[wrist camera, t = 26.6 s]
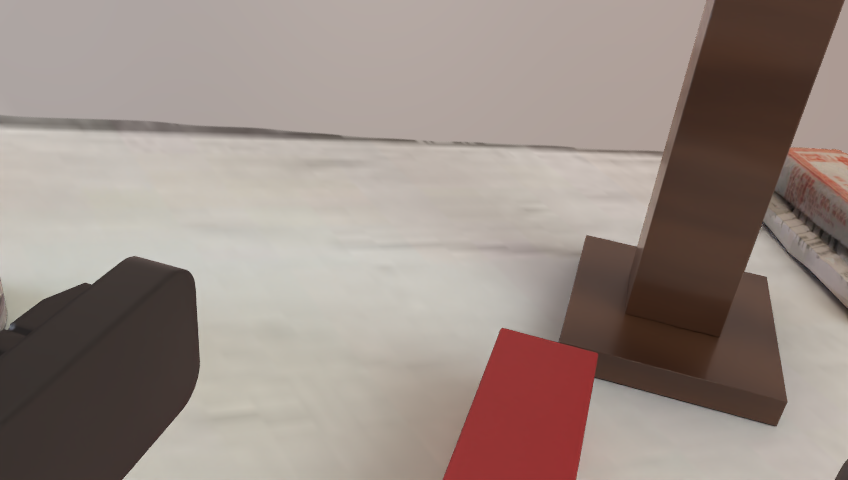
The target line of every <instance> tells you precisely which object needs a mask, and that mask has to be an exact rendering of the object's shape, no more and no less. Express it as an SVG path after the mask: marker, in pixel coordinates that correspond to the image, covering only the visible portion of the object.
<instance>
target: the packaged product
mask: <svg viewBox="0 0 848 480" xmlns="http://www.w3.org/2000/svg"><path fill="white" fill-rule="evenodd" d="M763 222H764V223H765V224H766V225H767V226H768V227H769V229H770V230H771V231H772V232H773V233H774V235H775V236H776V237H777V238H778V240H779V241H780V242H781V243H782V245H783V246H784V247H785V248H786V250H787V251H788V252H789V253H790V254H791V255H792V256H794V257H795V258H796V259H797V260H799V261H800V262H801V263H802V264H804V265H805V266H806V267H807V268H809V269H810V270H811V271H812V272H813V273H814V274H815V275H816V276H817V277H818V279H819V280H820V281H821V282H822V283H823V284H824V285H825V286H826V287H827V288H828V289H829V290H830V291H831V292H832V293H833V294H834V295H835V296H836V297H837V298H838V299H839V300H840V301H841V302H842V303H843V304H844V305H845V306H846V307H847V308H848V154H846V153H843V152H842V151H840V150H836V149H832V150H828V149H815V148H811V149H810V148H791V147H790V149H789V152H788V155H787V158H786V160H785V163H784V166H783V168H782V171H781V174H780V176H779V179H778V182H777V185H776V187H775V190H774V193H773V195H772V198H771V201H770V203H769V206H768V209H767V212H766V214H765V217H764V220H763Z"/></svg>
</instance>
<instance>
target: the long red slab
mask: <svg viewBox="0 0 848 480" xmlns="http://www.w3.org/2000/svg"><path fill="white" fill-rule="evenodd" d="M597 360H598V353H596V352H592V351H588V350H584V349H580V348H577V347H573V346H569V345H565V344H562V343H558V342H554V341H550V340H546V339H543V338H539V337H535V336H531V335H528V334H524V333H520V332H516V331H512V330H509V329H505V328H501V330H500V332H499V335H498V337H497V340H496V343H495V345H494V348H493V350H492V353H491V356H490V358H489V361H488V363H487V366H486V369H485V371H484V374H483V376H482V379H481V382H480V384H479V387H478V389H477V392H476V395H475V397H474V400H473V402H472V405H471V408H470V410H469V413H468V415H467V418H466V421H465V423H464V426H463V428H462V431H461V434H460V436H459V439H458V441H457V444H456V447H455V449H454V452H453V454H452V457H451V460H450V462H449V465H448V467H447V470H446V473H445V475H444V478H443V480H576V477H577V471H578V465H579V460H580V454H581V449H582V443H583V438H584V432H585V426H586V421H587V415H588V410H589V404H590V399H591V393H592V387H593V382H594V376H595V371H596V365H597Z"/></svg>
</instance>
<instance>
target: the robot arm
mask: <svg viewBox="0 0 848 480" xmlns="http://www.w3.org/2000/svg"><path fill="white" fill-rule="evenodd" d="M6 321H7V308H6V303H5V298H4V294H3V289H2V284H1V279H0V480H122V479H123V478H124V477H125V476H126V475H127V474H128V472H129V471H130V470H131V469H132V468H133V467H134V465H135V464H136V463H137V462H138V461H139V460H140V458H141V457H142V456H143V455H144V454H145V453H146V451H147V450H148V449H149V448H150V447H151V446H152V444H153V443H154V442H155V441H156V440H157V439H158V437H159V436H160V435H161V434H162V433H163V432H164V430H165V429H166V428H167V427H168V426H169V425H170V424H171V422H172V421H173V420H174V419H175V418H176V417H177V415H178V414H179V413H180V412H181V411H182V409H183V408H184V407H185V405H186V404H187V402H188V401H189V399H190V397H191V395H192V393H193V390H194V388H195V385H196V382H197V378H198V374H199V367H200V357H199V340H198V323H197V306H196V288H195V281H194V278H193V276H192V274H191V273H190V272H189V271H187V270H184V269H181V268H177V267H173V266H170V265H166V264H162V263H159V262H155V261H151V260H148V259H144V258H140V257H136V256H133V257H129V258H126V259H125V260H123V261H122V262H120V263H119V264H118V265H117V266H115V267H114V268H113V269H111V270H110V271H109V272H108V273H106V274H105V275H104V276H102V277H101V278H100V279H99V280H97V281H96V282H95V283H93V284H92V285H91V284H88V283H83V284H81V285H78V286H76V287H73V288H71V289H68V290H66V291H63V292H61V293H58V294H56V295H53V296H51V297H49V298H46V299H44V300H42V301H41V302H39V303H38V304H37V305H35V306H34V307H33V308H31V309H30V310H29V311H27V312H26V313H24V314H23V315H22V316H20V317H19V318H18V319H16V320H15V321H14V322H12V323H11V324H10V328H9V329H8V330H5V329H4V327H5V324H6ZM835 480H848V459H847V461H846V462H845V463H844V464H843V466H842V468H841V469H840V471H839V473H838V475H837V477H836V479H835Z"/></svg>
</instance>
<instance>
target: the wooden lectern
mask: <svg viewBox="0 0 848 480" xmlns="http://www.w3.org/2000/svg"><path fill="white" fill-rule="evenodd" d="M844 1H845V0H706V4H705V7H704V11H703V14H702V18H701V22H700V25H699V29H698V32H697V36H696V39H695V43H694V46H693V50H692V53H691V57H690V61H689V64H688V68H687V71H686V75H685V79H684V82H683V86H682V89H681V93H680V96H679V100H678V103H677V107H676V110H675V114H674V117H673V121H672V125H671V128H670V132H669V135H668V139H667V142H666V146H665V149H664V153H663V157H662V160H661V164H660V167H659V171H658V174H657V178H656V181H655V185H654V189H653V192H652V196H651V199H650V203H649V206H648V210H647V213H646V217H645V221H644V224H643V228H642V231H641V235H640V238H639V242H638V245H637V247H635V246H631V245H627V244H622V243H618V242H614V241H610V240H605V239H601V238H597V237H592V236H588V235H587V236H586V239H585V242H584V246H583V250H582V254H581V258H580V262H579V266H578V270H577V273H576V277H575V281H574V285H573V289H572V293H571V297H570V301H569V305H568V308H567V312H566V316H565V320H564V324H563V328H562V332H561V336H560V339H559V343H562V344H565V345H569V346H573V347H577V348H580V349H584V350H588V351H592V352H596V353H598V360H597V365H596V371H595V376H594V377H596V378H600V379H604V380H607V381H611V382H615V383H619V384H622V385H626V386H630V387H633V388H637V389H641V390H644V391H648V392H652V393H656V394H659V395H663V396H667V397H670V398H674V399H678V400H681V401H685V402H689V403H693V404H696V405H700V406H704V407H707V408H711V409H715V410H718V411H722V412H726V413H729V414H733V415H737V416H741V417H744V418H748V419H752V420H755V421H759V422H763V423H766V424H770V425H774V426H777V424H778V422H779V419H780V417H781V415H782V413H783V411H784V408H785V406H786V404H787V397H786V391H785V385H784V379H783V373H782V367H781V361H780V355H779V349H778V343H777V337H776V331H775V325H774V319H773V313H772V307H771V301H770V295H769V289H768V283H767V277H765V276H760V275H756V274H752V273H747V272H744V271H745V268H746V266H747V263H748V260H749V257H750V255H751V252H752V249H753V247H754V244H755V241H756V239H757V236H758V233H759V230H760V228H761V225H762V222H763V220H764V217H765V214H766V212H767V209H768V206H769V203H770V201H771V198H772V195H773V193H774V190H775V187H776V185H777V182H778V179H779V176H780V174H781V171H782V168H783V166H784V163H785V160H786V158H787V155H788V152H789V149H790V147H791V144H792V141H793V139H794V136H795V133H796V130H797V128H798V125H799V122H800V119H801V117H802V114H803V112H804V109H805V106H806V103H807V101H808V98H809V95H810V93H811V90H812V87H813V85H814V82H815V79H816V77H817V74H818V71H819V68H820V66H821V63H822V60H823V58H824V55H825V52H826V50H827V47H828V44H829V41H830V39H831V36H832V33H833V30H834V28H835V25H836V23H837V20H838V17H839V14H840V12H841V9H842V6H843V4H844Z"/></svg>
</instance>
